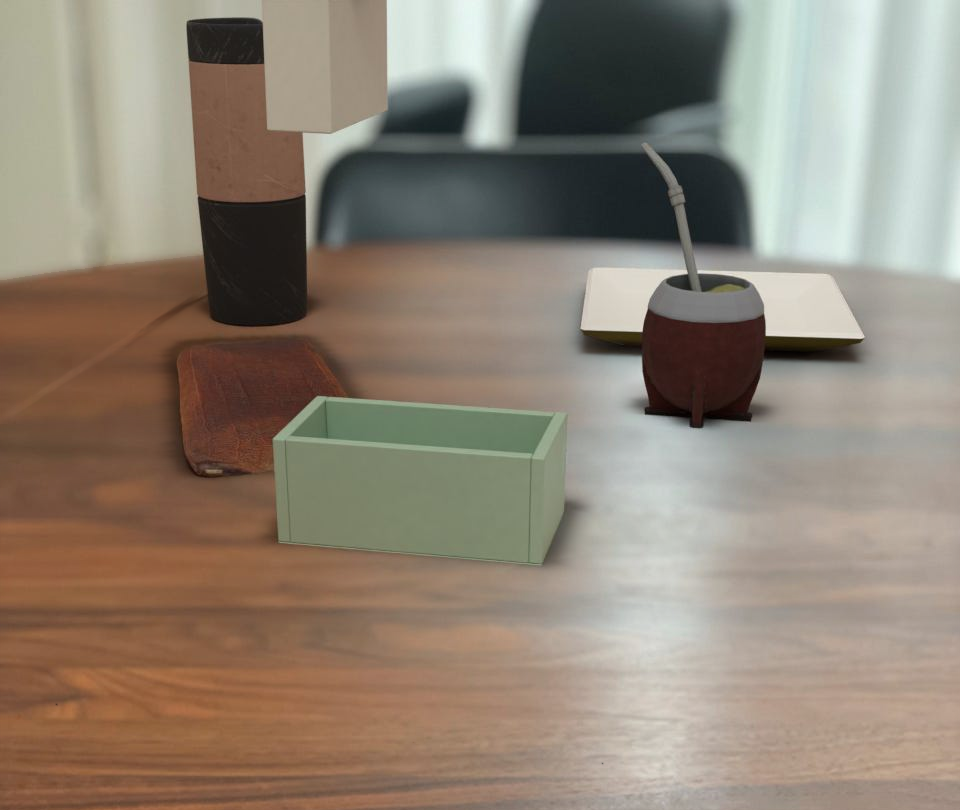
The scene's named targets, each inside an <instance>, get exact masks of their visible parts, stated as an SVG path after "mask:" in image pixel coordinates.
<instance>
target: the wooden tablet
mask: <svg viewBox="0 0 960 810" xmlns="http://www.w3.org/2000/svg"><path fill="white" fill-rule="evenodd" d="M176 369H177V375H178V385H179V407H180V408H179V413H180V423H181V432H182V433H181V434H182V445H183V451H184V456H185V458H186V460H187V461H188V464H189V465H190V467H191V468H192V470H193V472H194V473H195V474H197V475H198V476H199V477H204V478H215V477H233V476H234V477H235V476H245V475H246V476H247V475H254V474H261V473H266V472H274V455H273V438H274V437H275V436H276V435H277V434H278V433H279V432H280V431H281V430H282V429H283V428H285V427H286V426H287V425H288V424H289V423H290V422H291V421H292V420H293V419H294V418H295V417H296V416H297V415H298V414H299V413H300V412H301V411H302V410H303V409H304V408H305V407H306V406H307V405H308V404H309V403H310V402H311V401H313V400H314V399H315V398H316V397H317V396H325V397H340V398H349V396H348V394H346V392H345V390H344V389H343V388H342V386H341V385H340V383H339V381H338V380H337V378H336V377H335V376H334V375H335V374H333V372H332V371H331V370H330V369H329V367H328V365H327V364H326V362H325V361H324V359H323V358H322V356H321V355H320V354H319V352H318V351H317V350H316V349H315V347H314V346H313V345H312V344H311V343H309V342H308V341H307V340H305V339H304V338H300V337H295V336H293V337H277V338H268V339H261V340H260V339H259V340H245V341H238V342H227V343H211V344H205V345H198V346H191V347H187V348H185V349H183V350H182V351H181V352H180V353H179V354H178V356H177V359H176Z"/></svg>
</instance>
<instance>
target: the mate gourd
mask: <svg viewBox="0 0 960 810" xmlns="http://www.w3.org/2000/svg"><path fill="white" fill-rule="evenodd" d="M641 148H642V149H643V151H644V152H645V153H646V155H647V156H648V158H649V159H650V160H651V161H652V163H653V164H654V165H655V167H656V168H657V170H658V171H659V172H660V174H661V175H662V177H663V179H664V181H665V182H666V184H667V187H668V190H667V194H668V197H669V200H670V204H671V207H673V209H674V213H675V218H676V223H677V228H678V234H679V238H680V243H681V248H682V254H683V258H684V263H685V264H684V265H685V268H686V270H687V273H688V274H682V275H676V276H671V277H669V278H666V279H664V280H663V281H662V282H661V283H660V284H659V286H658V287H657V288H656V290H655V291H654V293H653V294H652V296H651V298H650V300H649V303H648V310H647V313H646V316H645V319H644V324H643V331H642V347H641V367H642V368H641V371H642V377H643V381H644V386H645V390H646V395H647V399H648V406H645V407H644V408H643V411H644V412H643V413H644V415H645V416H658V417H659V416H661V417H672V418H673V417H674V418H687V419H689V428H691V429H703V428H704V423H705V420H718V421H731V422H733V421H734V422H748V423H751V422H752V418H753V414H754V413H752V412H749V409H750V406H751V403H752V401H753V398H754V396H755V393H756V390H757V388H758V386H759V383H760V379H761V375H762V369H763V364H764V355H765V350H764V349H765V343H766V321H765V315H764V303H763V301H762V299H761V297H760V294H759V293H758V291H757V289H756V288H755V286H754V285H753V284H752V283H751V282H749V281H747V280H746V279H742V278H738V277H735V276H728V275H721V274H704V273H697V270H698V269H697V265H696V260H695V255H694V250H693V245H692V239H691V234H690V229H689V225H688V219H687V214H686V213H687V212H686V208H685V204H684V203H686V199H685V194H684V190H683V187H682V185H679V183H678V180H677V178H676V176H675V175H674V173H673V172H672V169H671V168H670V167H669V165H668V164H667V163H666V162H665V161H664V159H663V158H662V157H661V156H660V155H659V154H658V153H657V152H656V151H655V150H654V149H653V147H652V146H651V145H650V144H649V143H648V142H645V141H644V142H643V143H641Z"/></svg>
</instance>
